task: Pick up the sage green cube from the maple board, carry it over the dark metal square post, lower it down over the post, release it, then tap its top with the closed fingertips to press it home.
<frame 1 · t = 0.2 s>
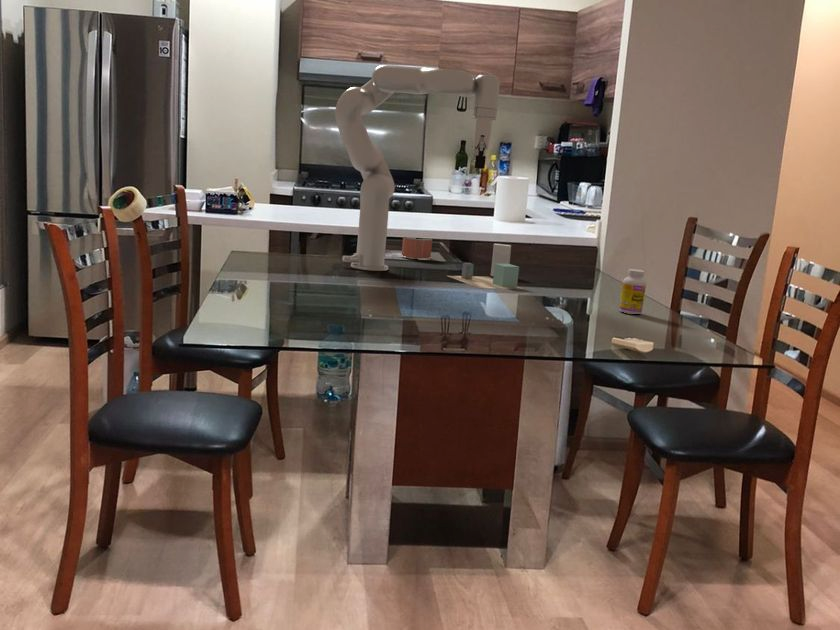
hand: (479, 168, 287), 37 cm above the table, tool pointing down, fingers open, 9 cm apart
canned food: (415, 258, 337), on the table
post: (466, 282, 288), resting on board
skincare box: (498, 280, 302), on the table
sage green cube: (504, 285, 281), point 1 cm above the table, touching board
supplement bottle: (629, 313, 260), on the table
board: (483, 285, 284), on the table
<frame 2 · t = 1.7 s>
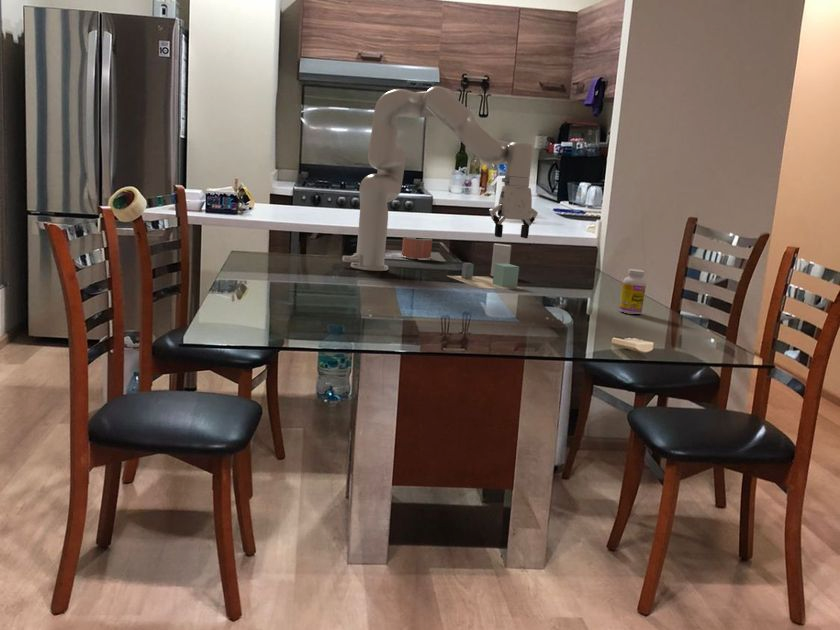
hand: (511, 237, 278), 17 cm above the table, tool pointing down, fingers open, 9 cm apart
nothing on the table moved.
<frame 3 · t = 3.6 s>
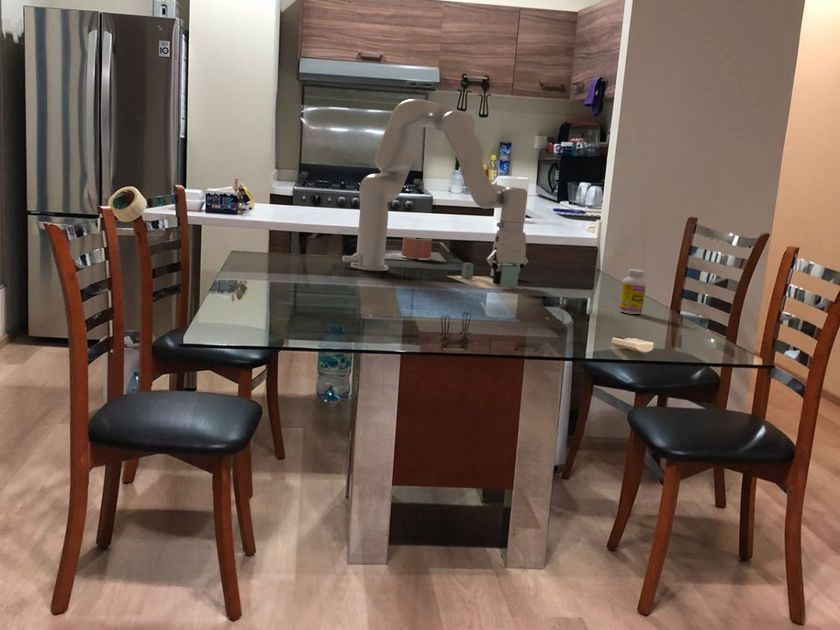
hand: (504, 283, 280), 2 cm above the table, tool pointing down, fingers closed on sage green cube, 5 cm apart
sage green cube: (504, 285, 281), point 1 cm above the table, touching board, gripper
everything else where it was.
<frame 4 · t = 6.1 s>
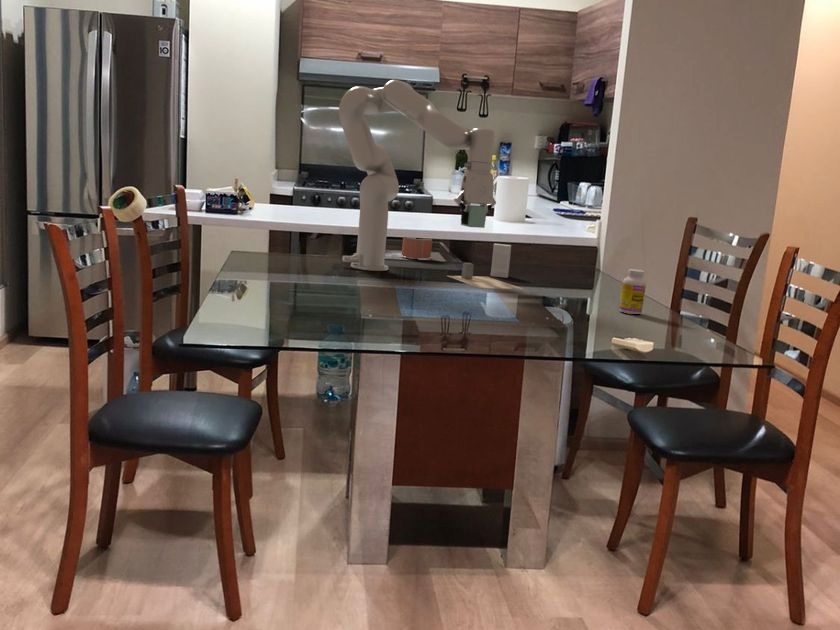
hand: (472, 223, 284), 19 cm above the table, tool pointing down, fingers closed on sage green cube, 5 cm apart
sage green cube: (472, 226, 284), point 18 cm above the table, touching gripper
everything else where it was.
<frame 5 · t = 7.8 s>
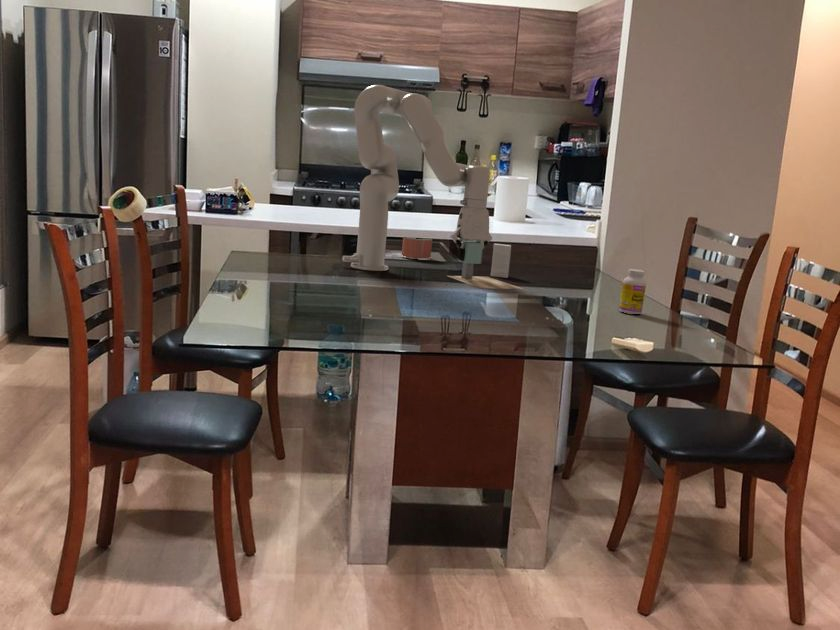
hand: (469, 259, 286), 7 cm above the table, tool pointing down, fingers closed on sage green cube, 5 cm apart
sage green cube: (469, 262, 287), point 7 cm above the table, touching gripper
everything else where it was.
when the fingers open (3 cm above the table, at t = 9.1 s): sage green cube stays where it is, resting on board.
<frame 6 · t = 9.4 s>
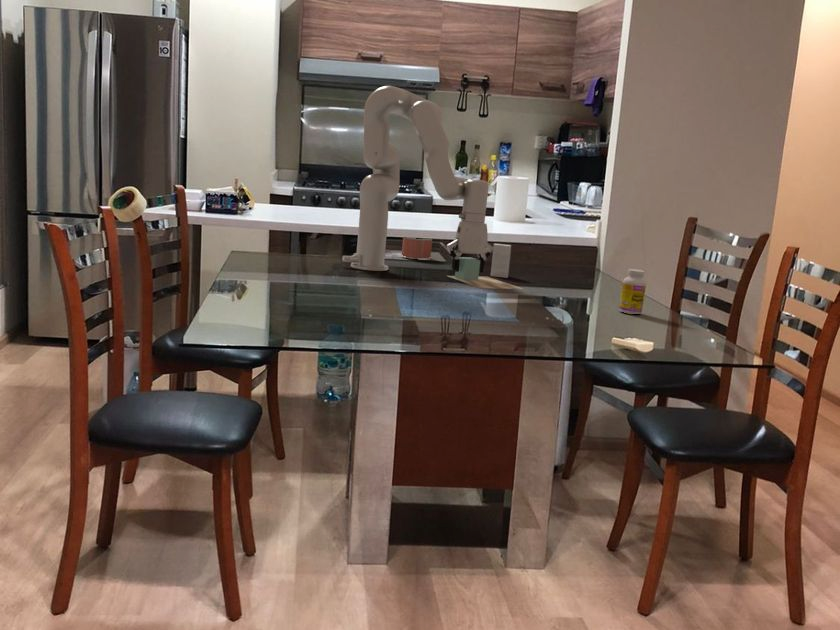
hand: (467, 271, 287), 4 cm above the table, tool pointing down, fingers open, 8 cm apart
sage green cube: (466, 278, 288), point 1 cm above the table, touching board
everything else where it was.
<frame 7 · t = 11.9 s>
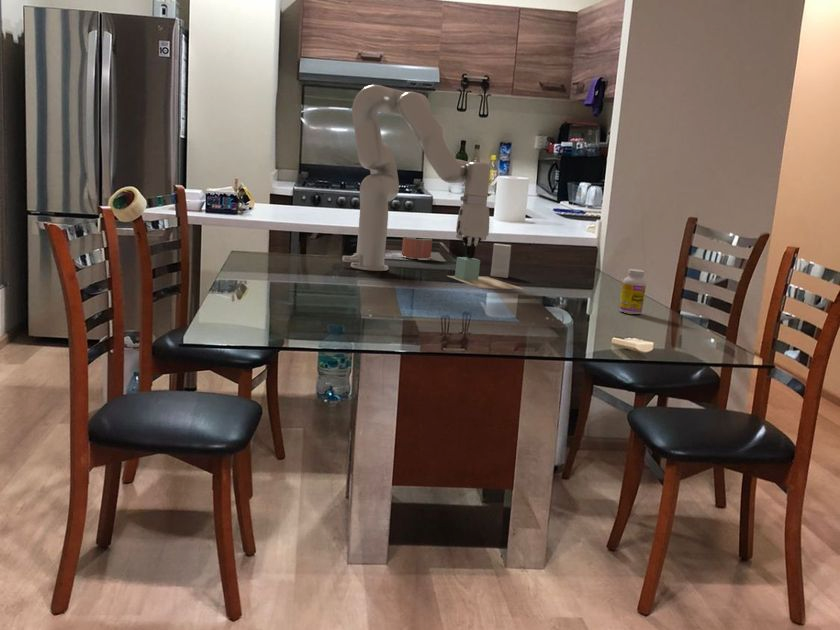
hand: (469, 257, 286), 8 cm above the table, tool pointing down, fingers closed
nothing on the table moved.
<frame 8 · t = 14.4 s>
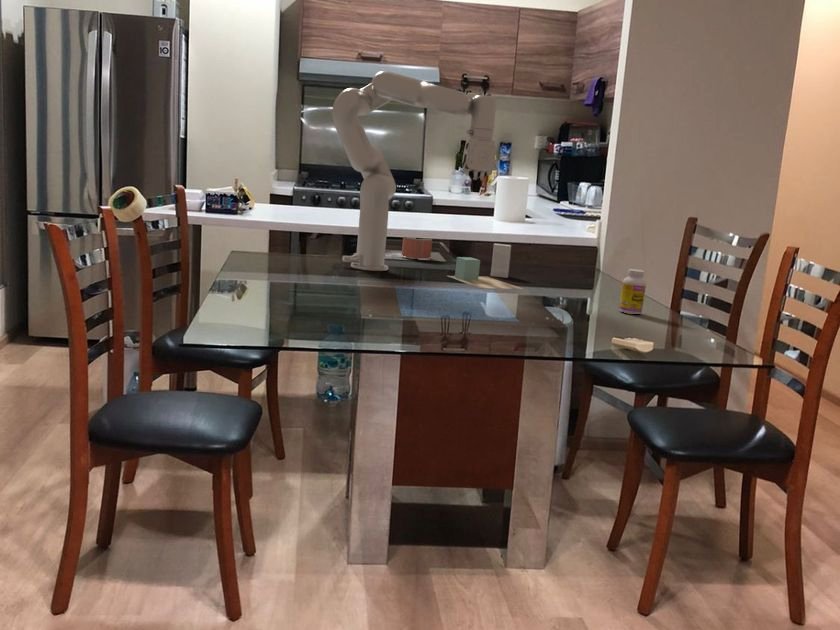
hand: (475, 192, 287), 29 cm above the table, tool pointing down, fingers closed
nothing on the table moved.
at the end: sage green cube 0.1 cm from the post (horizontally); sage green cube point 1.2 cm above the table; the gripper is holding nothing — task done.
